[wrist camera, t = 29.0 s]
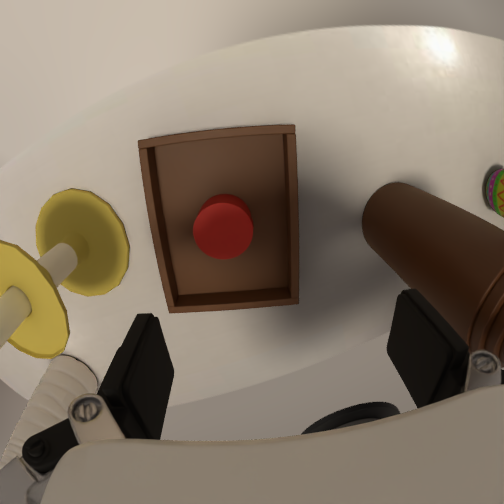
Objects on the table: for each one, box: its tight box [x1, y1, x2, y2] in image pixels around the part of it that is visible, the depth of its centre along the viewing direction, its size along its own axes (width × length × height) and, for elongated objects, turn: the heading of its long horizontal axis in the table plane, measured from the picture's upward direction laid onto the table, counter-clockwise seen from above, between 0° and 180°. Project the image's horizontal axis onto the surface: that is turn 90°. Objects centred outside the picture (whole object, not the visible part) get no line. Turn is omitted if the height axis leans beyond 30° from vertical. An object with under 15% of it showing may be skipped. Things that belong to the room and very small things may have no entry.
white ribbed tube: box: [0, 355, 97, 470], centre depth 17 cm, size 9×6×25 cm
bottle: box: [362, 182, 504, 368], centre depth 13 cm, size 6×6×20 cm
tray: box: [138, 125, 299, 313], centre depth 21 cm, size 13×10×2 cm
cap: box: [193, 194, 254, 259], centre depth 20 cm, size 4×4×3 cm
